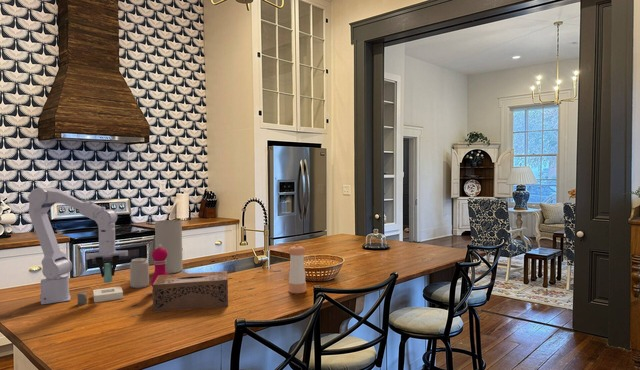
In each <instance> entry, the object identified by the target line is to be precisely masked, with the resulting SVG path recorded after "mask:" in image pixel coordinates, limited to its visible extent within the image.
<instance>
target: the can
mask: <svg viewBox="0 0 640 370" xmlns="http://www.w3.org/2000/svg"><path fill="white" fill-rule="evenodd" d="M149 266H150V263H149V261H148V258H147V257H139V258H138V257H136V258H133V259H131V261H130V263H129V278H130V279H129V282H130V287H131V288H133V289H143V288H146V287H148V286H149V284H150V269H149V268H150V267H149Z"/></svg>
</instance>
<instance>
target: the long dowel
mask: <svg viewBox="0 0 640 370" xmlns="http://www.w3.org/2000/svg"><path fill="white" fill-rule="evenodd" d="M103 273H104V277H103V283H105V284H109V283H112V282H113V276H112V262H107V263H103Z"/></svg>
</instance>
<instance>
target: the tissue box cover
mask: <svg viewBox="0 0 640 370" xmlns="http://www.w3.org/2000/svg"><path fill="white" fill-rule="evenodd" d="M228 278H229V277H228V271H227V270H222V271H219V270H218V271H208V272H207V271H205V272H204V271H203V272H191V273H172V274H168V275H158V277H157V278H156V280H155V282H154V283H153V287H152V290H153V294H152V308H153V310H152V311H153V313H161V312H172V311H185V310H196V309H197V310H198V309H208V308H209V309H211V308H220V307H229V285H228V284H229V282H228V281H229V280H228Z"/></svg>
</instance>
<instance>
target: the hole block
mask: <svg viewBox="0 0 640 370" xmlns="http://www.w3.org/2000/svg"><path fill="white" fill-rule="evenodd" d="M92 292H93V296H92V297H93V303H101V302H107V301H115V300H120V299H124V291H123V289H122V287H121V286H112V287H105V288H97V289H93V291H92Z"/></svg>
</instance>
